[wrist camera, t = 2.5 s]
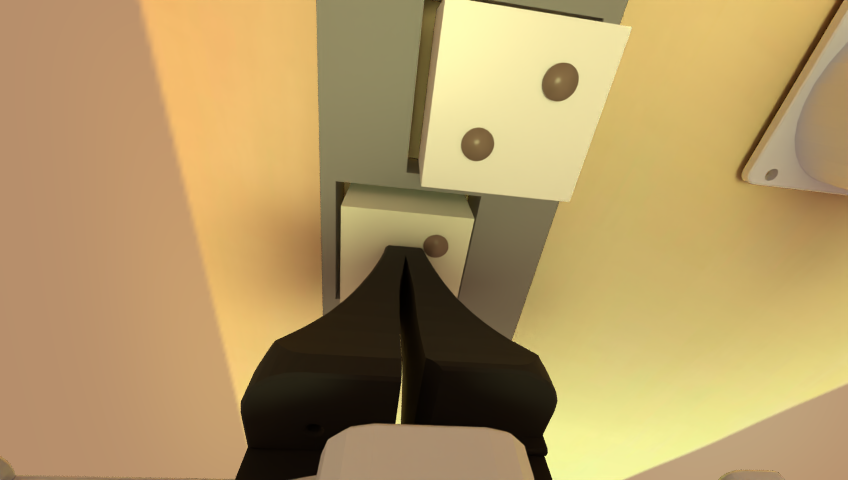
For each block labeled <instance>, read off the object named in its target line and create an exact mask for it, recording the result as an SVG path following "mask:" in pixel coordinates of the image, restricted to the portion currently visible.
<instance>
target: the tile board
mask: <svg viewBox="0 0 848 480" xmlns="http://www.w3.org/2000/svg"><path fill="white" fill-rule="evenodd" d="M432 1H439V2H442V1H443V0H432ZM470 1H476V2H482V3H489V4H495V5H501V6H507V7H513V8H519V9H525V10H531V11H538V12H544V13H550V14H556V15H562V16H568V17H574V18H580V19H587V20H593V21H599V22H605V23H611V24H617V25H620V23H621V20H622V17H623V14H624V11H625V8H626V5H627V2H628V0H470ZM316 8H317V56H318V103H319V151H320V199H321V246H322V294H323V316H324V315H325V314H327V313H328V312H330V311H331V310H332V309H334V308H335V307H336V306H337V305H339V304H340V257H341V205H342V202H343V200H344V182H349V183H358V184H368V185H377V186H387V187H396V188H406V189H416V190H425V191H435V192H444V193H454V194H463V195H469V198H468V204H469V207H470V209H471V211H472V214H473V216H474V224H473V228H472V233H471V237H470V242H469V246H468V251H467V255H466V260H465V265H464V269H463V274H462V278H461V283H460V287H459V292H458V297H457V299H458V300H459V301H460V302H461V303H463V304H464V305H465V306H466V307H467V308H468V309H469V310H470V311H471V312H472V313H473V314H475V315H476V316H477V317H478V318H480V319H481V320H482V321H483V322H485V323H486V324H487V325H489V326H490V327H491V328H493V329H494V330H496V331H497V332H499V333H500V334H502V335H503V336H505V337H506V338H508V339H510V340H512V338H513V335H514V332H515V329H516V326H517V324H518V321H519V318H520V315H521V312H522V309H523V306H524V303H525V300H526V297H527V294H528V291H529V288H530V286H531V283H532V280H533V277H534V274H535V271H536V268H537V265H538V262H539V259H540V256H541V253H542V250H543V248H544V245H545V242H546V239H547V236H548V233H549V230H550V227H551V224H552V221H553V218H554V215H555V213H556V210H557V207H558V204H559V201H554V200H545V199H535V198H526V197H516V196H507V195H498V194H488V193H479V192H469V191H460V190H450V189H441V188H431V187H422V186H421V181H420V171H419V162H418V159H415V158H408V152H409V142H410V132H411V123H412V113H413V104H414V94H415V85H416V75H417V66H418V56H419V47H420V37H421V28H422V18H423V9H424V0H316Z"/></svg>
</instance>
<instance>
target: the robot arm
mask: <svg viewBox="0 0 848 480" xmlns="http://www.w3.org/2000/svg"><path fill="white" fill-rule="evenodd" d="M768 171H769V173H768V174H767V172H768ZM766 174H767V175H766ZM765 175H766V176H765ZM742 179H743V181H746V182H748V183H751V184H755V185H763V186H772V187H780V188H789V189H797V190H806V191H814V192H822V193H831V194H839V195H848V0H844V1H843V3H842V4H841V6H840V8H839V9H838V11H837V13H836V14H835V16H834V18H833V19H832V21H831V23H830V24H829V26H828V28H827V30H826V31H825V33H824V35H823V36H822V38H821V40H820V41H819V43H818V45H817V46H816V48H815V50H814V51H813V53H812V55H811V56H810V58H809V60H808V61H807V63H806V65H805V67H804V68H803V70H802V72H801V73H800V75H799V77H798V78H797V80H796V82H795V83H794V85H793V87H792V88H791V90H790V92H789V93H788V95H787V97H786V99H785V100H784V102H783V104H782V105H781V107H780V109H779V110H778V112H777V114H776V115H775V117H774V119H773V120H772V122H771V124H770V125H769V127H768V129H767V131H766V132H765V134H764V136H763V137H762V139H761V141H760V142H759V144H758V146H757V147H756V149H755V151H754V152H753V154H752V156H751V157H750V159H749V161H748V163H747V164H746V166H745V168H744V169H743V172H742ZM400 339H401V343H400ZM401 354H402V356H401ZM402 375H403V378H402V409H401V424H395V422H396V415H397V408H398V401H399V394H400V386H401V376H402ZM556 404H557V395H556V391H555V388H554V386H553V384H552V381H551V379H550V377H549V375H548V373H547V371H546V369H545V367H544V365H543V363H542V362H541V360H540V358H539V356H538V355H537V354H535V353H533V352H531V351H530V350H528V349H526V348H524V347H522V346H520V345H518V344H517V343H515V342H513V341H511V340H510V339H508V338H506V337H505V336H503V335H502V334H500V333H499V332H497V331H496V330H494V329H493V328H491V327H490V326H489V325H487V324H486V323H485V322H483V321H482V320H481V319H480V318H478V317H477V316H476V315H475V314H473V313H472V312H471V311H470V310H469V309H468V308H467V307H466V306H465V305H464V304H463V303H461V302H460V301H459V300H458V299H457V298H456V296H455V295H454V294H453V293H452V292H451V291H450V289H449V288H448V287H447V286H446V284H445V283H444V282H443V281H442V279H441V278H440V276H439V275H438V273H437V272H436V271H435V269H434V267H433V266H432V264H431V263H430V261H429V259H428V258H427V256H426V254H425V252H424V250H423V249H422V248H416V247H404V246H393V245H388V246H387V247H385V250H384V252H383V254H382V256H381V258H380V259H379V261H378V263H377V264H376V265H375V267H374V268H373V270H372V271H371V272H370V274H369V275H368V276H367V277H366V278H365V280H364V281H363V282H362V283H361V284H360V285H359V286H358V287H357V288H356V289H355V290H354V291H353V292H352V293H351V294H350V295H349V296H348V297H347V298H346V299H345V300H344V301H342V302H341V303H340V304H339V305H337V306H336V307H335V308H334V309H332V310H331V311H330V312H328V313H327V314H325V315H324V316H322V317H321V318H319V319H317V320H316V321H314V322H312V323H311V324H309V325H307V326H305V327H303V328H301V329H299V330H297V331H295V332H293V333H291V334H289V335H287V336H284V337H282V338H280V339H278V340H276V341H275V342H274V343H273V344H272V346H271V347H270V349H269V350H268V351H267V353H266V354H265V356H264V358H263V359H262V361H261V362H260V363H259V365H258V367H257V369H256V370H255V372H254V374H253V376H252V378H251V381H250V383H249V385H248V387H247V389H246V392H245V394H244V396H243V398H242V400H241V416H242V421H243V425H244V430H245V435H246V440H247V445H248V448H247V451H246V453H245V456H244V459H243V461H242V463H241V466H240V469H239V471H238V473H237V476H236V479H197V478H141V477H86V476H85V477H84V476H82V477H81V476H31V475H30V476H29V475H15V472H14V470H13V468H12V466H11V465H10V464H9V462H8V461H7V460H5V459H4V458H3V457H1V456H0V480H552V477H551V474H550V471H549V468H548V466H547V463H546V460H545V457H544V456H546V455H547V453H548V451H547V446H546V443H545V440H544V437H543V433H544V431H545V429H546V427H547V425H548V423H549V421H550V419H551V417H552V415H553V413H554V411H555V408H556ZM718 480H785V479H784V478H783V477H782V476H781V474H780V473H779V472H776V471H769V470H734V471H731V472H728V473H726V474H724V475H723V476H721V477H720V478H719V479H718Z"/></svg>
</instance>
